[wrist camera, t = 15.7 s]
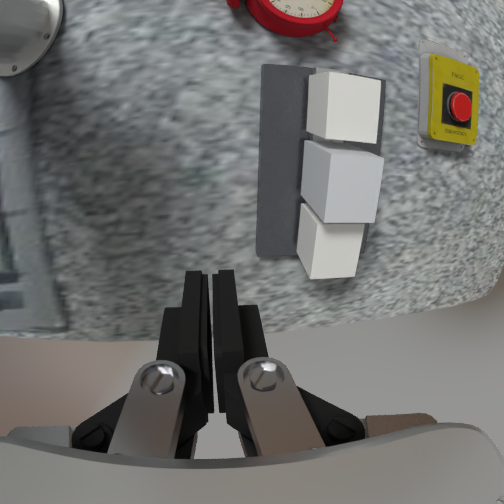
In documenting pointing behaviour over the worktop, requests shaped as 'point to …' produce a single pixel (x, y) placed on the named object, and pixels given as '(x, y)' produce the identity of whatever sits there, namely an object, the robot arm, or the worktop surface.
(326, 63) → the worktop surface
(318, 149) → the block
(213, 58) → the worktop surface
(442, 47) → the emergency button
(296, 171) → the board
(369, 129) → the mounted modules
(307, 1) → the alarm clock
